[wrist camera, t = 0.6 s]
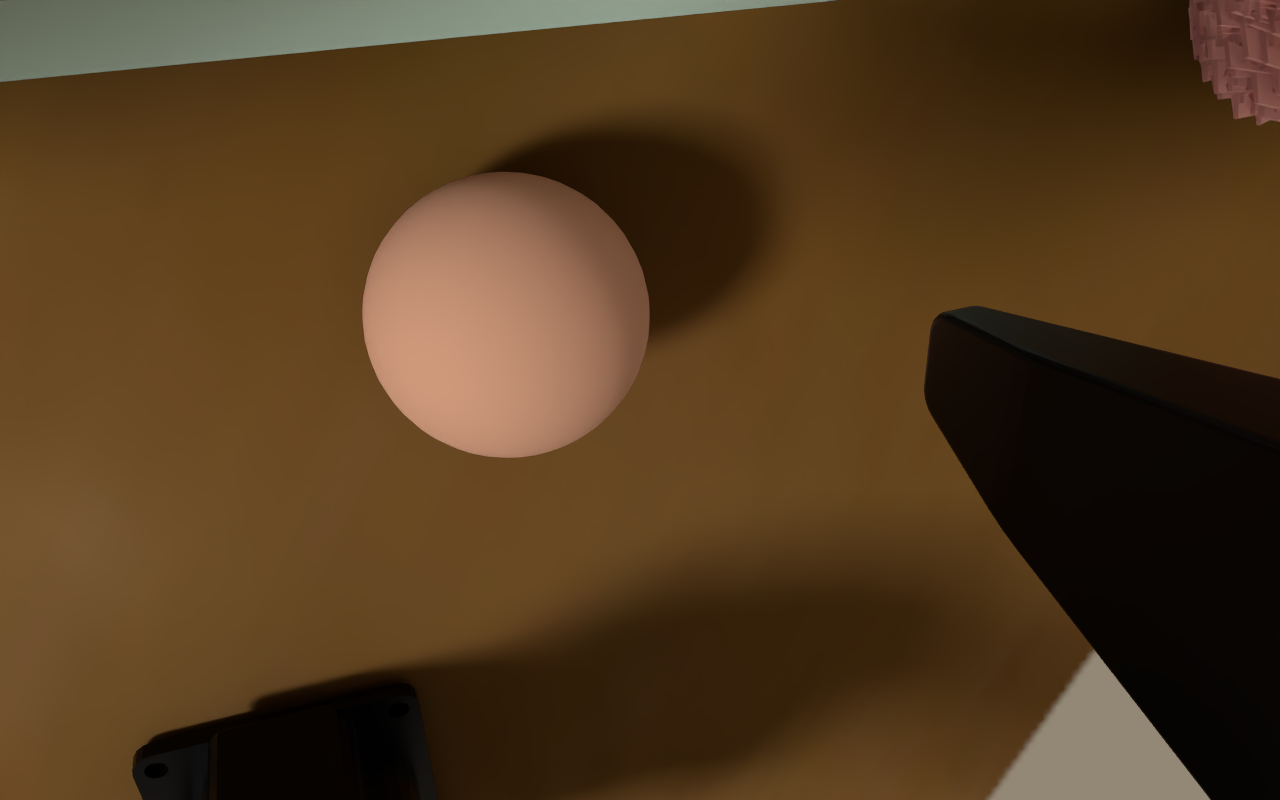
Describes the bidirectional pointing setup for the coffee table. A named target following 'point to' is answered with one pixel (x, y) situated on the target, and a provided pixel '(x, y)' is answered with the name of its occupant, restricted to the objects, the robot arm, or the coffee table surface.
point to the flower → (1240, 53)
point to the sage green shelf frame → (279, 27)
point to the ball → (506, 314)
